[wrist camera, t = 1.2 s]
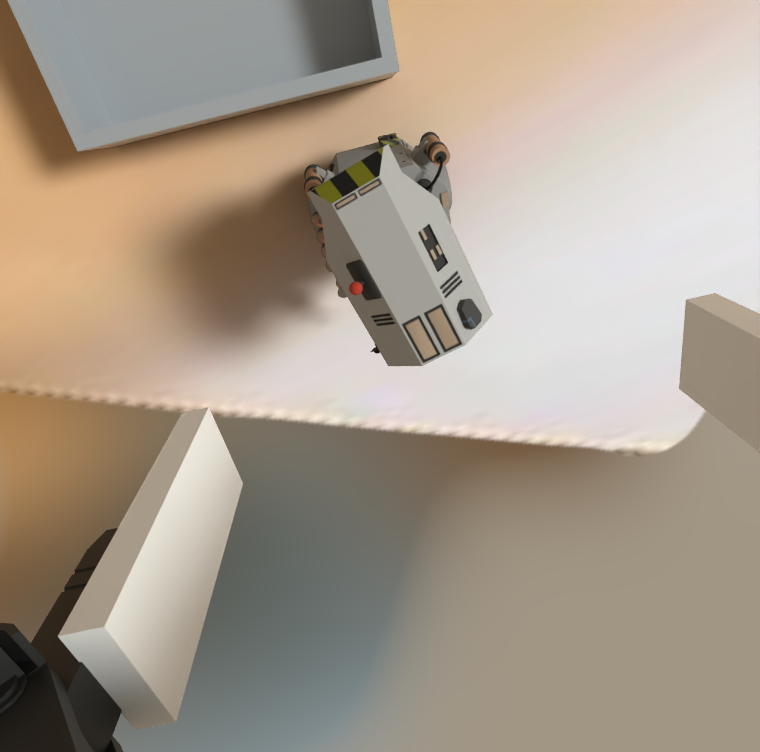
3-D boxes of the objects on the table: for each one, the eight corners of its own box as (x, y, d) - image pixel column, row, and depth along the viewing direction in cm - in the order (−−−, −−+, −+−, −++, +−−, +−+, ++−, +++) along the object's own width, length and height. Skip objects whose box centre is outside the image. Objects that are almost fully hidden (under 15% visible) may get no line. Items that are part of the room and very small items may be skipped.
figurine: (345, 310, 38) (345, 412, 25) (299, 154, 33) (269, 178, 20) (459, 281, 38) (520, 370, 25) (431, 118, 33) (491, 119, 19)
